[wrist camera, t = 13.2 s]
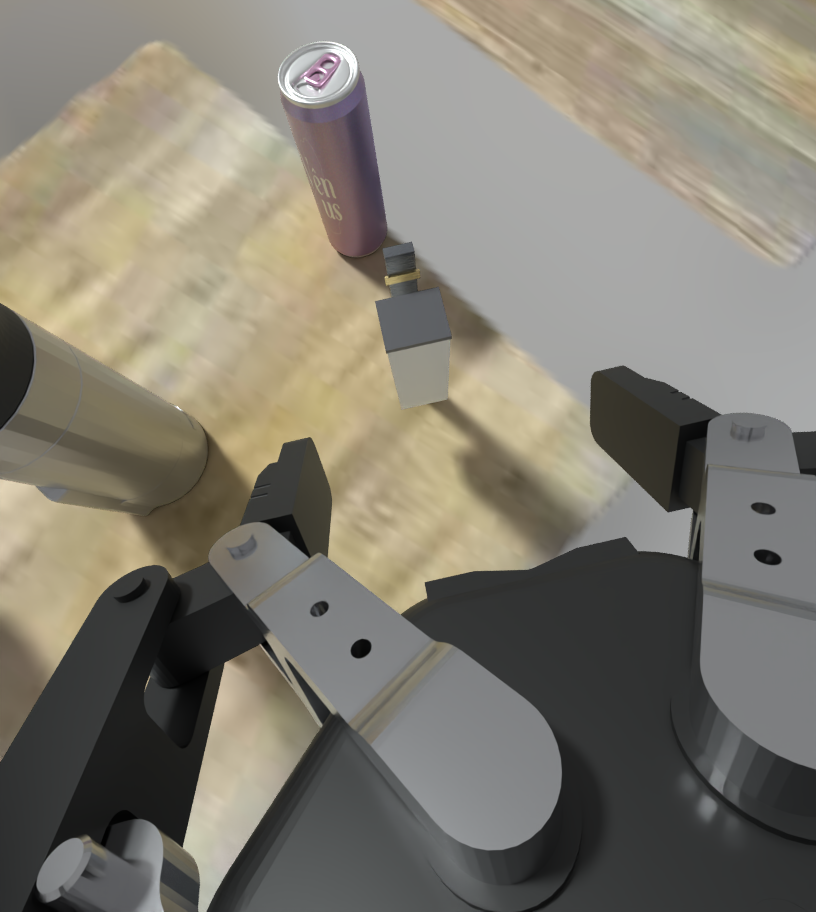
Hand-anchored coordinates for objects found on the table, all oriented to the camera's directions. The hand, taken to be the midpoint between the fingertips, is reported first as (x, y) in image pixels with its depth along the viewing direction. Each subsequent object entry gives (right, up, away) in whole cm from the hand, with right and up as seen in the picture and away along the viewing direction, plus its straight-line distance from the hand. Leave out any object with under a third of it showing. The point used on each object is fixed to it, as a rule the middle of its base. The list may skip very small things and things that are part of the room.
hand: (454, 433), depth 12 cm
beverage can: (-6, +22, +31) cm, 39 cm away
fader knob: (0, +5, +20) cm, 21 cm away
